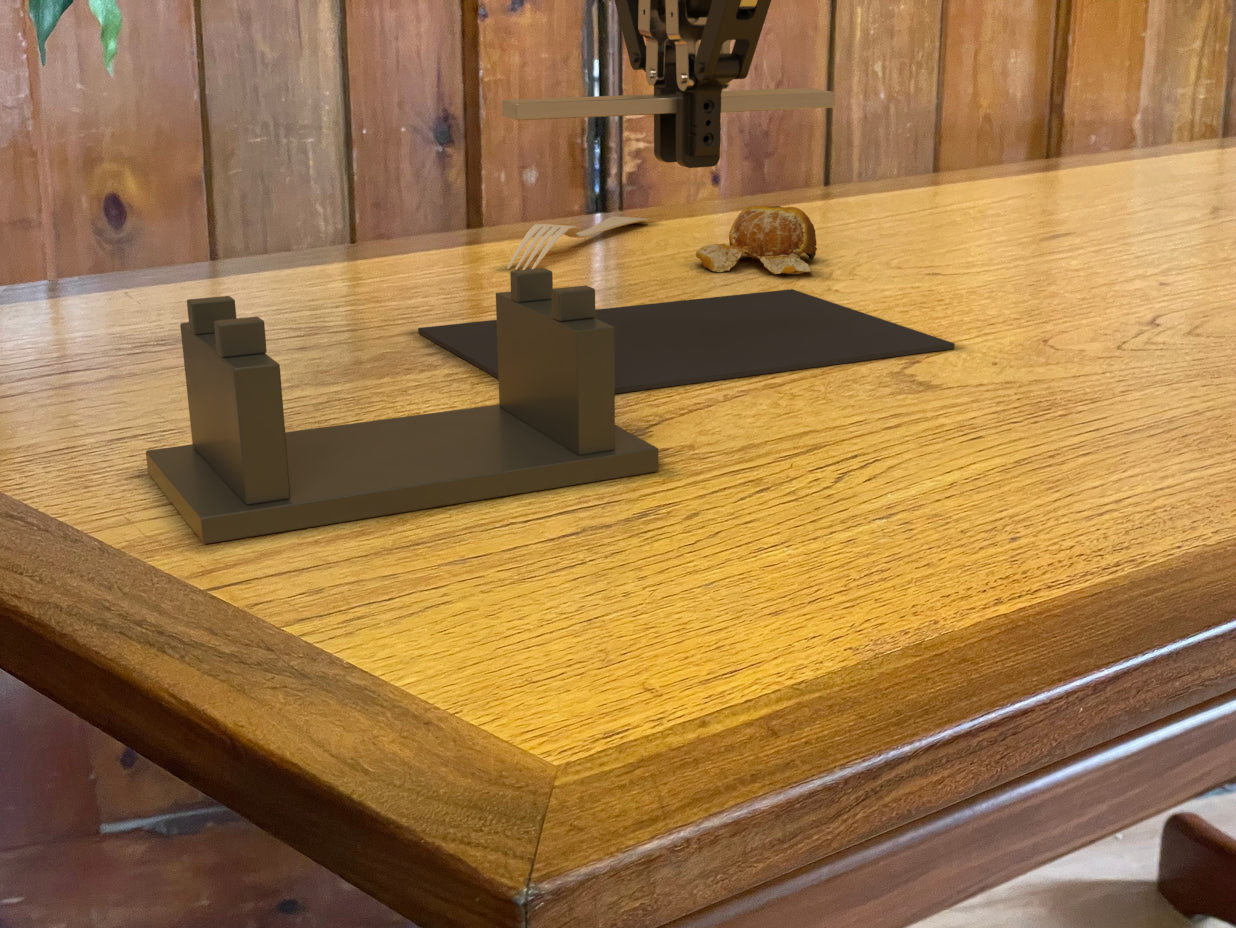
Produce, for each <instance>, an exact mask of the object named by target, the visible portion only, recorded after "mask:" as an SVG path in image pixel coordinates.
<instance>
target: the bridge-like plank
mask: <svg viewBox="0 0 1236 928" xmlns="http://www.w3.org/2000/svg"><path fill="white" fill-rule="evenodd" d="M835 105H836V91H832V90H831V91H830V90H826V89H819V88H812V87H791V88H763V89H737V90H736V89H735V90H722V93H721V113H722V114H723V113H742V112H743V113H744V112H765V111H767V112H769V111H787V110H789V111H790V110H810V109H811V110H813V109H833V108H835ZM501 108H502V109H501V111H502V114H501V115H502V118H503V117H504V118H507V119H510V120H514V121H535V120H536V121H537V120H560V119H561V120H563V119H581V118H603V117H604V118H605V117H606V118H607V117H627V116H629V117H631V116H651V115H653V116H654V114H676V109H677V98H676V94H654V93H652V94H624V95H623V94H622V95H598V96H597V95H596V96H574V97H573V96H572V97H569V96H567V97H542V98H520V99H519V98H518V99H517V98H515V99H502V100H501Z"/></svg>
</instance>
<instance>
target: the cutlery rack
mask: <svg viewBox="0 0 1236 928" xmlns="http://www.w3.org/2000/svg"><path fill="white" fill-rule="evenodd" d="M509 274H510V275H509V276H510V279H509V281H510V291H501V292H500V291H499V292H495V312H496V313H495V314H496V320H497V347H498V377H499V379H498V404H489V405H484V406H474V407H468V408H467V407H466V408H460V409H459V408H458V409H454V410H445V411H444V410H443V411H437V412H430V413H423V414H422V413H421V414H413V415H407V416H400V417H398V416H397V417H391V418H385V419H377V420H376V419H375V420H367V421H362V422H353V423H347V424H338V425H330V426H322V427H315V428H308V429H300V430H292V431H286V425H285V424H286V423H285V412H284V402H283V389H282V378H281V364H280V363H279V362H277V361H276V360H274V359H273V358H272V357H271V356H269V355H268V354H267V351H268V350H267V339H266V326H265V321H264V320H263V319H262V318H260V317H259V316H250V317H249V316H247V317H238V318H237V309H236V308H237V307H236V300H235V299H234V298H233V297H231V296H230V295H224V296H223V295H222V296H212V297H201V298H189V299H187V300H186V307H187V317H188V318H187V319H188V321H187V322H181V323H180V337H181V345H182V355H183V365H184V374H185V384H186V393H187V394H186V395H187V405H188V412H189V413H188V415H189V423H190V433H191V443H192V444H185V445H177V446H171V447H162V448H153V449H147V450H145V459H146V468H147V474H148V475H149V477H150V478H151V479H152V480H153V482H154V483H155V484H156V486H157V487H158V488H159V489H160V491H161V492H162V493H163V494H164V496H165V497H166V498H167V499H168V501H169V502H170V504H172V506H173V507H174V508H175V509H176V510H177V512H178V513H179V514H180V516H181V517H182V518H183V520H184V521H185V522H186V523H187V525H188V526H189V527H190V528H191V529H192V531H193V532H194V533H195V535H196V536H197V537H198V539H199V540H200V541H201V542H202V543H203V544H204V545H207V544H214V543H220V542H227V541H233V540H238V539H246V538H251V537H258V536H265V535H270V534H277V533H283V532H290V531H296V530H302V529H308V528H314V527H320V526H326V525H327V526H328V525H333V524H338V523H345V522H346V523H347V522H351V521H358V520H365V519H369V518H376V517H383V516H388V515H393V514H400V513H407V512H413V511H419V510H425V509H426V510H427V509H430V508H439V507H444V506H450V505H458V504H462V503H468V502H469V503H471V502H477V501H482V500H488V499H494V498H501V497H506V496H513V495H519V494H526V493H532V492H537V491H538V492H539V491H544V490H549V489H551V490H552V489H558V488H563V487H568V486H569V487H570V486H574V485H582V484H587V483H595V482H601V481H607V480H613V479H618V478H619V479H620V478H625V477H629V476H630V477H631V476H637V475H645V474H649V473H656V472H657V473H658V471H659V448H658V447H657V446H655V445H653V444H651V443H650V442H648V441H646V440H644V439H642V438H640V437H639V436H637V435H634V434H633V433H632V432H630V431H628V430H626V429H624V428H623V427H620V426H619V425H617V424H616V400H615V399H616V394H615V375H614V327H613V326H611V325H608V324H606V323H604V322H602V321H599V320H597V319H595V310H596V289H595V288H594V287H591V286H589V285H576V286H566V287H565V286H564V287H555V288H554V286H553V281H554V280H553V271H552V270H550V269H548V268H545V267H543V268H540V267H539V268H534V269H531V268H528V269H525V270H523V269H519V270H518V269H517V270H512V271H511V270H510V272H509Z"/></svg>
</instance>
